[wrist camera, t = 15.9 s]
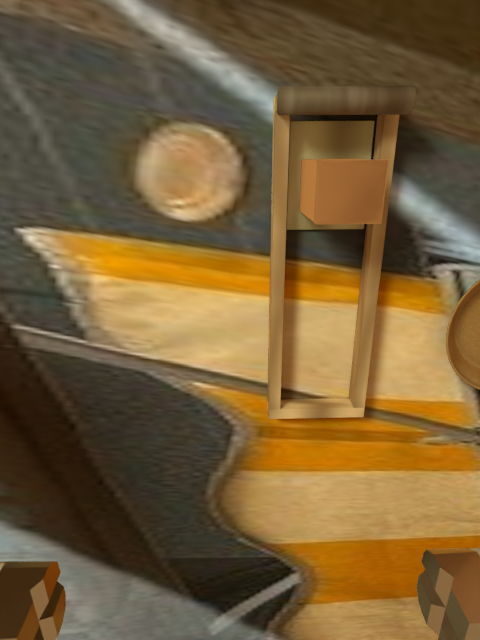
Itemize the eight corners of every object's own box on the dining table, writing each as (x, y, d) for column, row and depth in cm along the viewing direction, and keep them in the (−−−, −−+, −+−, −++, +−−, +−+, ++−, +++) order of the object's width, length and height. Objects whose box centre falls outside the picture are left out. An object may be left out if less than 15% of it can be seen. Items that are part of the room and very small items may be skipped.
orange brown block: (298, 211, 40) (315, 224, 32) (301, 159, 38) (318, 160, 31) (352, 210, 40) (381, 223, 32) (357, 158, 38) (388, 159, 31)
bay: (267, 408, 48) (271, 436, 43) (273, 93, 36) (280, 84, 32) (358, 406, 48) (372, 433, 43) (393, 92, 36) (417, 83, 32)
